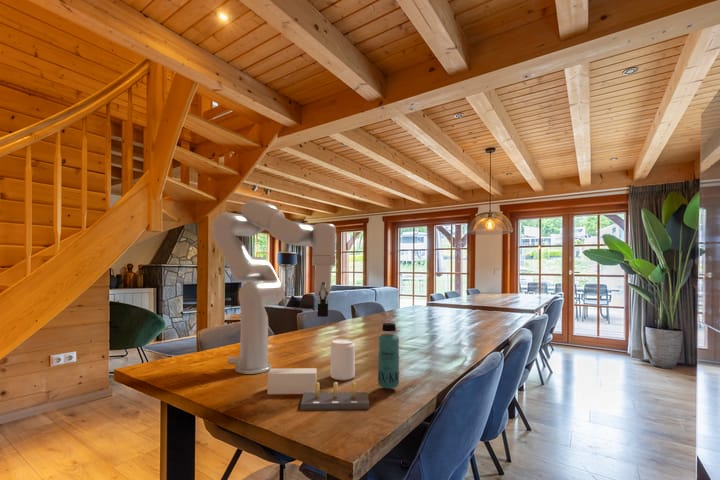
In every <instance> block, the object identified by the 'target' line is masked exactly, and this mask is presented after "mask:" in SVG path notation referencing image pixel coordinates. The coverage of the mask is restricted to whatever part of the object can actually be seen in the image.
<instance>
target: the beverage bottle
mask: <svg viewBox="0 0 720 480" xmlns="http://www.w3.org/2000/svg"><path fill="white" fill-rule="evenodd" d="M382 331H383V332H385V333H382V334H381V335H379V337H378V355H377V356H378V362H377V365H378V366H377V373H378V374H377V375H378V376H377V383H378V386H379V387H381V388H383V389H394V388H397V387H398V386H399V384H400V368H399V367H400V338H399V336H397V334H394V333H386V332H396V331H397V328H396V323H393V322H384V323H383V324H382Z"/></svg>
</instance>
